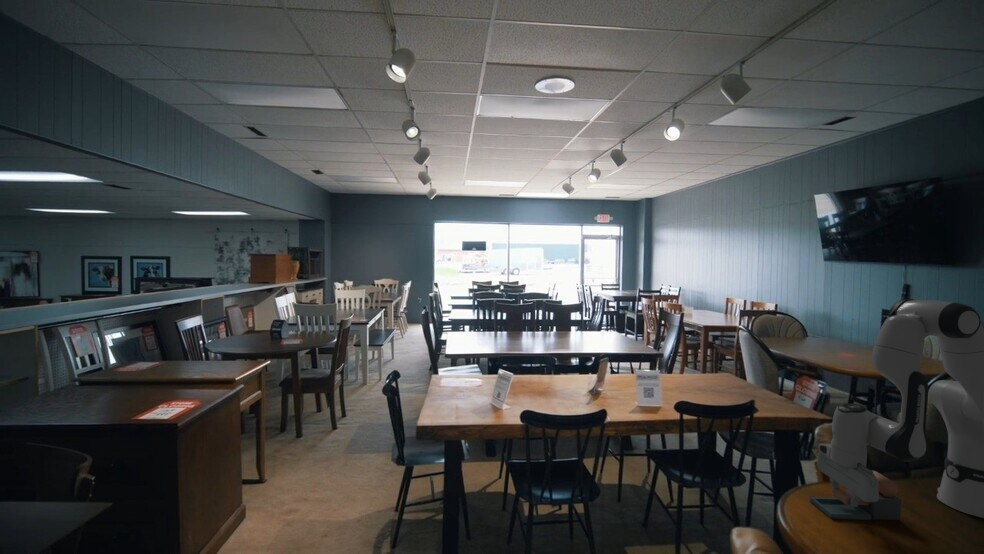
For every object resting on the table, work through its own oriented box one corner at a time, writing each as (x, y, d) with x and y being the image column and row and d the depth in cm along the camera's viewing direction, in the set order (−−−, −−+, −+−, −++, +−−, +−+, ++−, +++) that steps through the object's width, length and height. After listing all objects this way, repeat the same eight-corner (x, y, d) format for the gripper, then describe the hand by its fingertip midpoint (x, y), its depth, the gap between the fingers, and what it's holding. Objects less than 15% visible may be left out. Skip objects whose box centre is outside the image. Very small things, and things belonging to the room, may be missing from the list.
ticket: (862, 496, 140) (862, 490, 140) (875, 505, 135) (876, 499, 135) (833, 495, 140) (834, 489, 140) (846, 504, 135) (846, 498, 135)
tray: (847, 503, 142) (848, 498, 142) (871, 520, 133) (871, 515, 133) (809, 501, 142) (810, 497, 142) (830, 518, 133) (831, 513, 133)
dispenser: (874, 503, 142) (877, 469, 142) (899, 520, 133) (902, 483, 133) (849, 502, 142) (852, 468, 142) (872, 519, 133) (875, 482, 133)
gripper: (887, 473, 127) (883, 520, 127) (833, 442, 147) (830, 483, 148) (865, 473, 127) (861, 519, 128) (814, 442, 147) (811, 482, 148)
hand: (844, 499), depth 138 cm, fingers closed on ticket, 5 cm apart
